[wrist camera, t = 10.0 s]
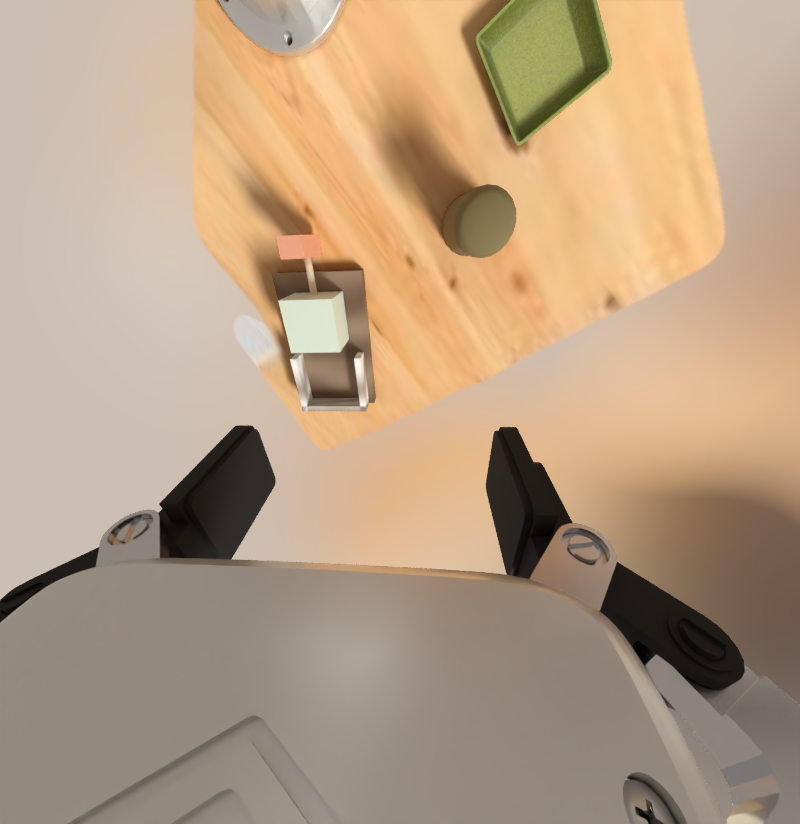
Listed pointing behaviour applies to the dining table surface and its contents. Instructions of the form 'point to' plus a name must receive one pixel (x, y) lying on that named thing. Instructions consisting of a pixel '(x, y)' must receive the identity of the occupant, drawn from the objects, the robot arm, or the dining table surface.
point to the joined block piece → (311, 304)
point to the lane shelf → (338, 371)
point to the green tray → (542, 59)
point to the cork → (479, 222)
